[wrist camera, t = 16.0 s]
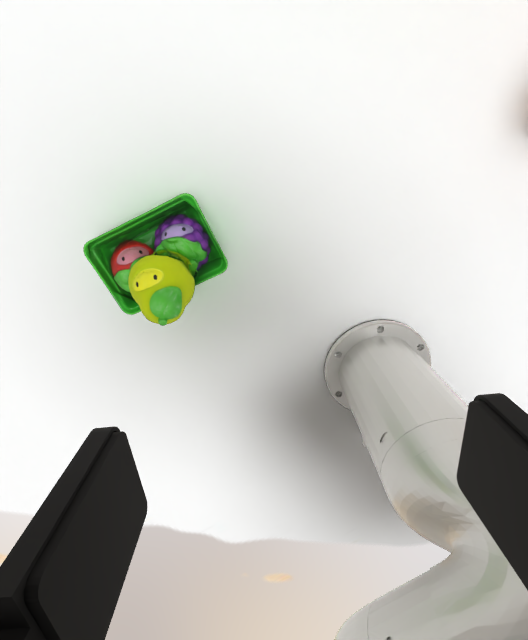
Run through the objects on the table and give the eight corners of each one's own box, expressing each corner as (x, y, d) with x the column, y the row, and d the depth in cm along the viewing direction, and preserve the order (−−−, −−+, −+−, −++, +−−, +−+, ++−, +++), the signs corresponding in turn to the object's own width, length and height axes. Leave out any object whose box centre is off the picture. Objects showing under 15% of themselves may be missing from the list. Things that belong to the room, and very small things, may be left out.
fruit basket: (199, 188, 33) (172, 189, 22) (239, 267, 36) (232, 302, 26) (102, 238, 34) (35, 261, 24) (149, 310, 38) (107, 358, 27)
